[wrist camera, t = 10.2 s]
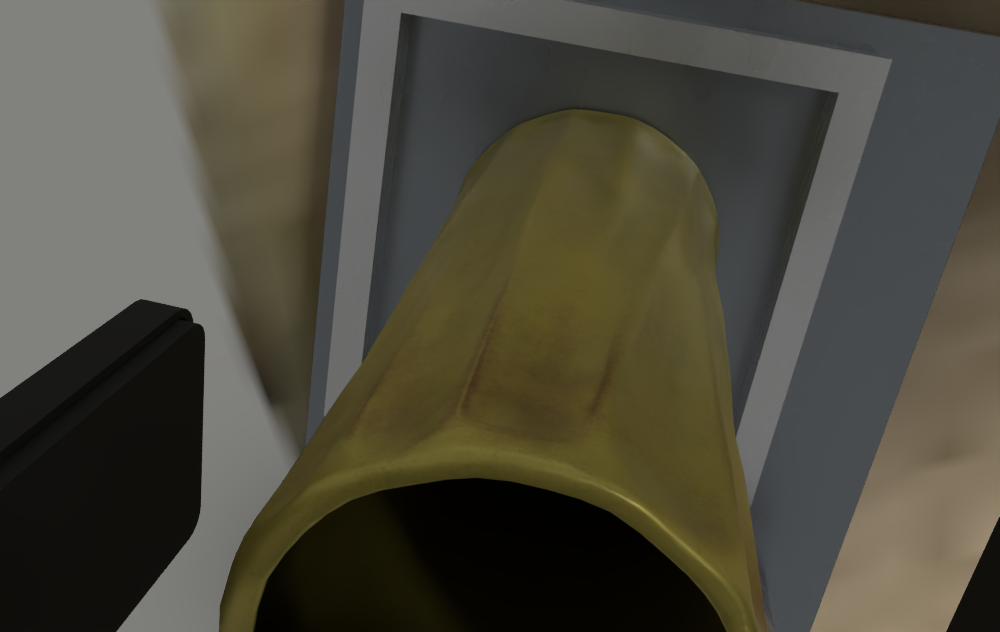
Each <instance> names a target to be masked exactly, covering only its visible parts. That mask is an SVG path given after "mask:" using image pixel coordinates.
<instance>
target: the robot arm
mask: <svg viewBox="0 0 1000 632" xmlns="http://www.w3.org/2000/svg"><path fill="white" fill-rule="evenodd" d="M204 355H205V332H204V329H203V327H202V326H201V325H200V324H196V323H193V318H192V315H191V313H190V312H189V311H188V310H187V309H183V308H179V307H174V306H170V305H166V304H161V303H156V302H152V301H148V300H142V299H140V300H138V301H136V302H134V303H133V304H131V305H130V306H128V307H127V308H126V309H124V310H123V311H122V312H120V313H119V314H117V315H116V316H114V317H113V318H112V319H110V320H109V321H107V322H106V323H105V324H103V325H102V326H101V327H99V328H98V329H96V330H95V331H94V332H92V333H91V334H89V335H88V336H87V337H85V338H84V339H82V340H81V341H80V342H78V343H77V344H75V345H74V346H73V347H71V348H70V349H69V350H67V351H66V352H64V353H63V354H61V355H60V356H59V357H57V358H56V359H54V360H53V361H52V362H50V363H49V364H47V365H46V366H45V367H43V368H42V369H41V370H39V371H38V372H36V373H35V374H33V375H32V376H31V377H29V378H28V379H26V380H25V381H24V382H22V383H21V384H20V385H18V386H17V387H15V388H14V389H13V390H11V391H10V392H8V393H7V394H6V395H4V396H3V397H1V398H0V632H116V631H117V630H118V629H119V627H120V626H121V625H122V624H123V622H124V621H125V620H126V619H127V617H128V616H129V615H130V614H131V612H132V611H133V610H134V608H135V607H136V606H137V604H138V603H139V602H140V601H141V599H142V598H143V597H144V596H145V594H146V593H147V592H148V591H149V589H150V588H151V587H152V585H153V584H154V583H155V582H156V580H157V579H158V578H159V577H160V575H161V574H162V573H163V571H164V570H165V569H166V568H167V566H168V565H169V564H170V563H171V561H172V560H173V559H174V557H175V556H176V555H177V554H178V552H179V551H180V550H181V549H182V547H183V546H184V545H185V543H186V542H187V541H188V540H189V538H190V537H191V535H192V534H193V531H194V529H195V527H196V525H197V522H198V518H199V514H200V507H201V475H202V436H203V435H202V434H203V432H202V431H203V397H204ZM946 632H1000V517H999V519H998V521H997V523H996V525H995V528H994V530H993V532H992V534H991V536H990V538H989V541H988V543H987V545H986V547H985V549H984V551H983V554H982V556H981V558H980V560H979V562H978V564H977V566H976V569H975V571H974V573H973V575H972V577H971V579H970V582H969V584H968V586H967V588H966V590H965V592H964V595H963V597H962V599H961V601H960V603H959V605H958V607H957V610H956V612H955V614H954V616H953V618H952V620H951V623H950V625H949V627H948V629H947V631H946Z"/></svg>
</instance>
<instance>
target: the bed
mask: <svg viewBox="0 0 1000 632" xmlns="http://www.w3.org/2000/svg"><path fill="white" fill-rule="evenodd" d="M570 109H580V110H591V111H599V112H606V113H611V114H617V115H622V116H626V117H630V118H633V119H637V120H639V121H641V122H643V123H645V124H647V125H649V126H651V127H653V128H655V129H656V130H658V131H659V132H661V133H662V134H663V135H665V136H666V137H668V138H669V139H670V140H672V141H673V142H674V143H675V144H676V145H677V146H678V147H680V148H681V149H682V150H683V151H684V152H685V153H686V154H687V155H688V156H689V157H690V159H691V160H692V161H693V162H694V163H695V164H696V166H697V167H698V169H699V170H700V172H701V174H702V176H703V177H704V179H705V181H706V183H707V185H708V188H709V190H710V192H711V194H712V197H713V200H714V203H715V207H716V210H717V214H718V221H719V248H718V259H717V266H716V279H717V285H718V290H719V295H720V299H721V304H722V309H723V315H724V323H725V333H726V342H727V350H728V358H729V368H730V378H731V389H732V409H733V423H734V430H735V437H736V442H737V446H738V450H739V454H740V458H741V462H742V467H743V471H744V477H745V483H746V489H747V495H748V501H749V507H750V514H751V520H752V527H753V533H754V540H755V546H756V553H757V560H758V567H759V574H760V581H761V589H762V596H763V605H764V613H765V620H766V625H767V631H768V632H810V630H811V627H812V624H813V622H814V619H815V616H816V614H817V611H818V608H819V605H820V603H821V600H822V597H823V595H824V592H825V589H826V587H827V584H828V581H829V578H830V576H831V573H832V570H833V568H834V565H835V562H836V560H837V557H838V554H839V551H840V549H841V546H842V543H843V541H844V538H845V535H846V533H847V530H848V527H849V524H850V522H851V519H852V516H853V514H854V511H855V508H856V505H857V503H858V500H859V497H860V495H861V492H862V489H863V487H864V484H865V481H866V478H867V476H868V473H869V470H870V468H871V465H872V462H873V460H874V457H875V454H876V451H877V449H878V446H879V443H880V441H881V438H882V435H883V433H884V430H885V427H886V424H887V422H888V419H889V416H890V414H891V411H892V408H893V405H894V403H895V400H896V397H897V395H898V392H899V389H900V387H901V384H902V381H903V378H904V376H905V373H906V370H907V368H908V365H909V362H910V360H911V357H912V354H913V351H914V349H915V346H916V343H917V341H918V338H919V335H920V333H921V330H922V327H923V324H924V322H925V319H926V316H927V314H928V311H929V308H930V305H931V303H932V300H933V297H934V295H935V292H936V289H937V287H938V284H939V281H940V278H941V276H942V273H943V270H944V268H945V265H946V262H947V260H948V257H949V254H950V251H951V249H952V246H953V243H954V241H955V238H956V235H957V233H958V230H959V227H960V224H961V222H962V219H963V216H964V214H965V211H966V208H967V205H968V203H969V200H970V197H971V195H972V192H973V189H974V187H975V184H976V181H977V178H978V176H979V173H980V170H981V168H982V165H983V162H984V160H985V157H986V154H987V151H988V149H989V146H990V143H991V141H992V138H993V135H994V133H995V130H996V127H997V124H998V122H999V119H1000V35H996V34H990V33H984V32H979V31H973V30H967V29H962V28H956V27H950V26H945V25H939V24H933V23H928V22H922V21H916V20H911V19H905V18H899V17H894V16H888V15H882V14H877V13H871V12H865V11H860V10H854V9H848V8H843V7H837V6H831V5H826V4H820V3H814V2H809V1H803V0H345V5H344V16H343V27H342V38H341V50H340V61H339V72H338V83H337V94H336V106H335V117H334V128H333V139H332V150H331V161H330V173H329V184H328V195H327V206H326V217H325V229H324V240H323V251H322V262H321V273H320V285H319V296H318V307H317V318H316V329H315V341H314V352H313V363H312V374H311V385H310V397H309V408H308V419H307V430H306V441H305V447H306V445H307V444H308V442H309V441H310V439H311V438H312V436H313V435H314V433H315V431H316V430H317V428H318V427H319V425H320V424H321V422H322V421H323V419H324V418H325V416H326V414H327V413H328V411H329V410H330V408H331V407H332V405H333V404H334V402H335V401H336V399H337V398H338V397H339V395H340V394H341V392H342V391H343V389H344V388H345V386H346V385H347V384H348V382H349V381H350V380H351V378H352V377H353V375H354V374H355V373H356V371H357V370H358V368H359V367H360V366H361V364H362V362H363V361H364V359H365V358H366V356H367V354H368V353H369V351H370V349H371V348H372V346H373V344H374V342H375V341H376V339H377V337H378V336H379V334H380V332H381V331H382V329H383V327H384V326H385V324H386V323H387V321H388V320H389V318H390V316H391V315H392V313H393V311H394V310H395V308H396V306H397V304H398V303H399V301H400V299H401V297H402V295H403V293H404V291H405V289H406V287H407V286H408V284H409V282H410V281H411V279H412V278H413V276H414V275H415V273H416V271H417V270H418V268H419V267H420V265H421V263H422V262H423V260H424V258H425V257H426V255H427V253H428V252H429V250H430V249H431V247H432V245H433V243H434V241H435V239H436V237H437V235H438V233H439V231H440V229H441V228H442V226H443V224H444V222H445V221H446V219H447V217H448V216H449V214H450V212H451V210H452V208H453V206H454V205H455V203H456V201H457V197H458V194H459V191H460V189H461V186H462V183H463V181H464V178H465V175H466V174H467V172H468V171H469V170H470V169H471V167H472V166H473V164H474V163H475V162H476V161H477V160H478V158H479V157H480V156H481V155H482V154H483V153H484V152H485V151H486V150H487V149H488V148H489V147H490V146H491V145H492V144H493V143H494V142H496V141H497V140H498V139H499V138H500V137H501V136H503V135H504V134H505V133H507V132H508V131H510V130H511V129H513V128H514V127H516V126H518V125H519V124H522V123H524V122H527V121H529V120H532V119H535V118H538V117H541V116H544V115H548V114H551V113H555V112H559V111H564V110H570Z"/></svg>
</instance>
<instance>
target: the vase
mask: <svg viewBox="0 0 1000 632" xmlns="http://www.w3.org/2000/svg"><path fill="white" fill-rule="evenodd" d="M718 248H719V221H718V214H717V210H716V207H715V203H714V200H713V197H712V194H711V192H710V190H709V188H708V185H707V183H706V181H705V179H704V177H703V176H702V174H701V172H700V170H699V169H698V167H697V166H696V164H695V163H694V162H693V161H692V160H691V159H690V157H689V156H688V155H687V154H686V153H685V152H684V151H683V150H682V149H681V148H680V147H678V146H677V145H676V144H675V143H674V142H673V141H672V140H670V139H669V138H668V137H666V136H665V135H663V134H662V133H661V132H659V131H658V130H656V129H655V128H653V127H651V126H649V125H647V124H645V123H643V122H641V121H639V120H637V119H633V118H630V117H626V116H622V115H617V114H611V113H606V112H599V111H591V110H580V109H570V110H564V111H559V112H555V113H551V114H548V115H544V116H541V117H538V118H535V119H532V120H529V121H527V122H524V123H522V124H519V125H518V126H516V127H514V128H513V129H511V130H510V131H508V132H507V133H505V134H504V135H503V136H501V137H500V138H499V139H498V140H497V141H496V142H494V143H493V144H492V145H491V146H490V147H489V148H488V149H487V150H486V151H485V152H484V153H483V154H482V155H481V156H480V157H479V158H478V160H477V161H476V162H475V163H474V164H473V166H472V167H471V169H470V170H469V171H468V172H467V174H466V175H465V178H464V181H463V183H462V186H461V189H460V191H459V194H458V197H457V201H456V203H455V205H454V206H453V208H452V210H451V212H450V214H449V216H448V217H447V219H446V221H445V222H444V224H443V226H442V228H441V229H440V231H439V233H438V235H437V237H436V239H435V241H434V243H433V245H432V247H431V249H430V250H429V252H428V253H427V255H426V257H425V258H424V260H423V262H422V263H421V265H420V267H419V268H418V270H417V271H416V273H415V275H414V276H413V278H412V279H411V281H410V282H409V284H408V286H407V287H406V289H405V291H404V293H403V295H402V297H401V299H400V301H399V303H398V304H397V306H396V308H395V310H394V311H393V313H392V315H391V316H390V318H389V320H388V321H387V323H386V324H385V326H384V327H383V329H382V331H381V332H380V334H379V336H378V337H377V339H376V341H375V342H374V344H373V346H372V348H371V349H370V351H369V353H368V354H367V356H366V358H365V359H364V361H363V362H362V364H361V366H360V367H359V368H358V370H357V371H356V373H355V374H354V375H353V377H352V378H351V380H350V381H349V382H348V384H347V385H346V386H345V388H344V389H343V391H342V392H341V394H340V395H339V397H338V398H337V399H336V401H335V402H334V404H333V405H332V407H331V408H330V410H329V411H328V413H327V414H326V416H325V418H324V419H323V421H322V422H321V424H320V425H319V427H318V428H317V430H316V431H315V433H314V435H313V436H312V438H311V439H310V441H309V442H308V444H307V445H306V447H305V449H304V450H303V452H302V453H301V455H300V456H299V458H298V459H297V461H296V462H295V464H294V465H293V467H292V468H291V470H290V471H289V473H288V474H287V476H286V477H285V479H284V480H283V482H282V483H281V485H280V486H279V487H278V489H277V490H276V492H275V493H274V494H273V496H272V497H271V498H270V500H269V501H268V503H267V504H266V505H265V506H264V508H263V509H262V511H261V512H260V513H259V515H258V516H257V517H256V519H255V520H254V522H253V524H252V525H251V527H250V528H249V530H248V531H247V533H246V535H245V536H244V538H243V540H242V542H241V544H240V547H239V549H238V551H237V553H236V555H235V558H234V560H233V563H232V566H231V570H230V573H229V576H228V580H227V583H226V587H225V590H224V594H223V597H222V601H221V604H220V621H219V632H768V631H767V625H766V620H765V613H764V605H763V596H762V589H761V581H760V574H759V567H758V560H757V553H756V546H755V540H754V533H753V527H752V520H751V514H750V507H749V501H748V495H747V489H746V483H745V477H744V471H743V467H742V462H741V458H740V454H739V450H738V446H737V442H736V437H735V430H734V423H733V409H732V389H731V378H730V368H729V358H728V350H727V342H726V333H725V323H724V315H723V309H722V304H721V299H720V295H719V290H718V285H717V279H716V266H717V259H718Z"/></svg>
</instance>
